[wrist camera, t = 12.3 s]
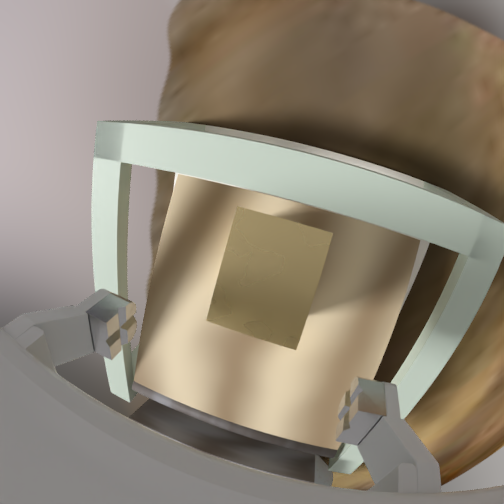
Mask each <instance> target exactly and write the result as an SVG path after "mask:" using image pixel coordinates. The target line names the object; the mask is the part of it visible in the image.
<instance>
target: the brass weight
mask: <svg viewBox="0 0 504 504" xmlns="http://www.w3.org/2000/svg"><path fill="white" fill-rule="evenodd" d="M332 235H333V233H331V232H328V231H324V230H321V229H318V228H314V227H311V226H307V225H304V224H300V223H297V222H293V221H290V220H286V219H283V218H279V217H276V216H272V215H268V214H265V213H261V212H257V211H254V210H250V209H246V208H242V207H239V206H237V209H236V213H235V216H234V220H233V223H232V227H231V230H230V234H229V237H228V241H227V245H226V248H225V252H224V255H223V259H222V263H221V266H220V270H219V274H218V277H217V281H216V285H215V289H214V292H213V296H212V300H211V304H210V308H209V311H208V315H207V319H206V321H208V322H211V323H214V324H217V325H220V326H223V327H225V328H228V329H231V330H234V331H237V332H240V333H243V334H246V335H249V336H252V337H255V338H258V339H261V340H264V341H267V342H271V343H274V344H277V345H280V346H284V347H287V348H290V349H293V350H296V349H297V346H298V343H299V341H300V338H301V335H302V332H303V329H304V326H305V323H306V320H307V317H308V314H309V311H310V308H311V305H312V302H313V299H314V296H315V293H316V289H317V286H318V283H319V280H320V276H321V273H322V270H323V267H324V263H325V260H326V256H327V253H328V250H329V246H330V243H331V239H332Z"/></svg>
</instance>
